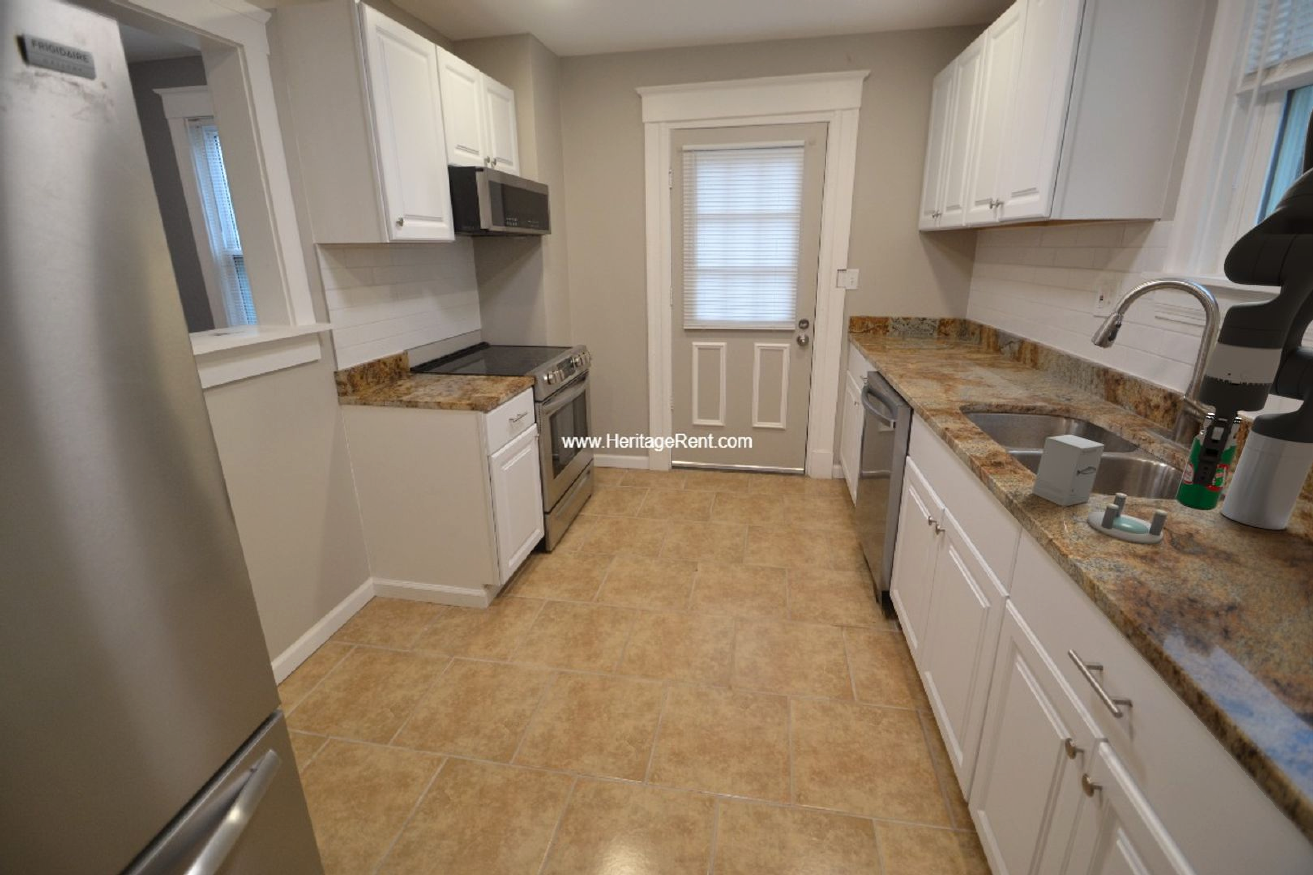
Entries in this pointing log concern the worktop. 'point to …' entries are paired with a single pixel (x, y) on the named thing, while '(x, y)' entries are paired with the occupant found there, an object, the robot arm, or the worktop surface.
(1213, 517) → the worktop surface
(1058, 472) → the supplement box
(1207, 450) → the soda can
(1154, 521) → the pin socket
